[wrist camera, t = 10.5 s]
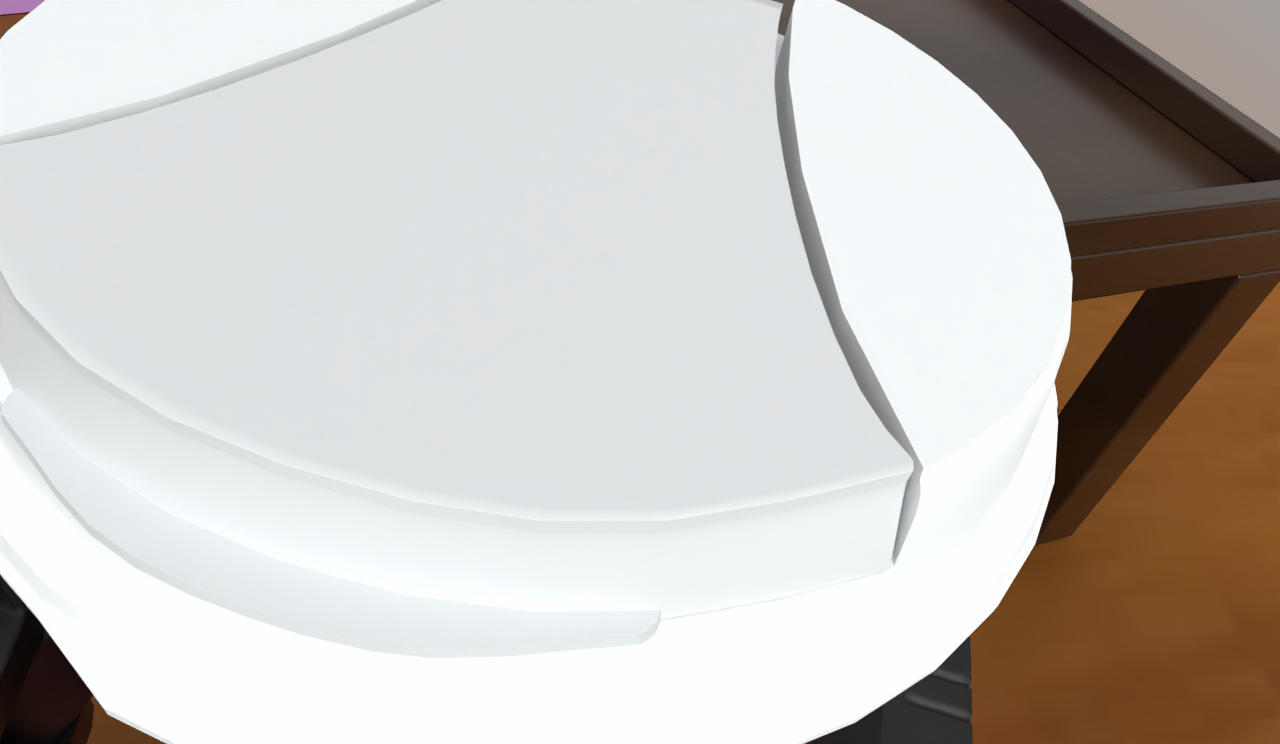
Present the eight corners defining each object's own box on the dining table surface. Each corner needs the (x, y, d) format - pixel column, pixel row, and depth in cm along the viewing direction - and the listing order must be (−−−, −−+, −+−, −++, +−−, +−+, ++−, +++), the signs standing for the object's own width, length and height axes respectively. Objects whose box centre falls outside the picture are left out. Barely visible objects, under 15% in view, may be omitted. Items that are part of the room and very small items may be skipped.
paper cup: (374, 592, 19) (325, -183, 9) (740, 723, 18) (1109, 35, 8) (108, 1040, 13) (-754, 271, 4) (621, 1255, 13) (1308, 1034, 3)
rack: (485, 240, 32) (506, -131, 24) (809, 208, 37) (919, -110, 29) (657, 651, 22) (796, 255, 14) (1072, 535, 27) (1356, 189, 19)
